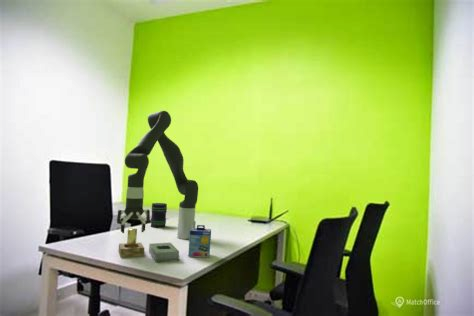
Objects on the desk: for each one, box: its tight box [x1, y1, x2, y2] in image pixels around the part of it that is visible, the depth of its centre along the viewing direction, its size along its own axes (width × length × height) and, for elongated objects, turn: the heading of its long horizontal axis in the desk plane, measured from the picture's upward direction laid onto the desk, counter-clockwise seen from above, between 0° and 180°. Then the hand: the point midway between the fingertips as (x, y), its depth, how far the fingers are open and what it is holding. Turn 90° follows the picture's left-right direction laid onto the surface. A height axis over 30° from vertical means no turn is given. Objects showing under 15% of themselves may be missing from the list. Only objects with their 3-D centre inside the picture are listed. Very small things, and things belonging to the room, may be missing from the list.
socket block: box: [118, 242, 145, 258], centre depth 144 cm, size 10×10×4 cm
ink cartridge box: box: [187, 224, 212, 259], centre depth 146 cm, size 10×6×14 cm, turn 95°
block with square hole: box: [148, 242, 180, 263], centre depth 142 cm, size 10×16×4 cm, turn 25°
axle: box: [126, 228, 138, 248], centre depth 144 cm, size 4×4×10 cm
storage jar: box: [150, 202, 168, 229], centre depth 208 cm, size 10×10×15 cm
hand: (132, 232), depth 144 cm, fingers open, 8 cm apart
